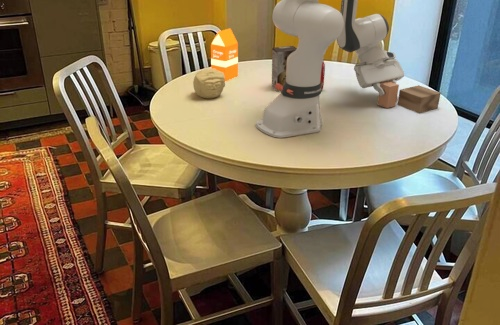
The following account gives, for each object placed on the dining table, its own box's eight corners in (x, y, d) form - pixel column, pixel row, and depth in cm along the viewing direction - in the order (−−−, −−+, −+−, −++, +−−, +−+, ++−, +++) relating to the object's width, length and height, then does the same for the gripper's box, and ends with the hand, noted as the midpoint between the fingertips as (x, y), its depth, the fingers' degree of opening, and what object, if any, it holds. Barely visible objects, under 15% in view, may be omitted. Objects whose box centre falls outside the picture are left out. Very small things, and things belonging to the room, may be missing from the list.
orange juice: (211, 78, 204) (209, 30, 195) (224, 73, 211) (223, 27, 202) (225, 81, 200) (225, 33, 191) (238, 76, 207) (238, 29, 198)
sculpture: (200, 102, 178) (198, 74, 173) (190, 93, 187) (188, 65, 182) (228, 98, 182) (228, 70, 177) (217, 89, 192) (216, 62, 187)
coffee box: (291, 84, 197) (293, 45, 190) (297, 89, 192) (300, 49, 184) (270, 86, 195) (271, 47, 187) (276, 91, 189) (277, 51, 182)
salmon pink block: (386, 108, 173) (390, 86, 170) (377, 104, 177) (380, 83, 173) (395, 105, 175) (398, 84, 172) (386, 102, 179) (389, 81, 175)
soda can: (322, 93, 188) (325, 63, 182) (304, 92, 189) (306, 62, 184) (323, 87, 194) (326, 58, 189) (306, 86, 195) (308, 57, 190)
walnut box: (418, 113, 170) (421, 97, 167) (397, 105, 177) (399, 89, 175) (437, 108, 174) (440, 92, 172) (415, 100, 182) (418, 85, 179)
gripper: (357, 59, 168) (374, 94, 166) (397, 52, 179) (414, 84, 176) (347, 69, 174) (363, 102, 171) (386, 61, 184) (402, 93, 181)
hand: (389, 93), depth 173 cm, fingers closed on salmon pink block, 5 cm apart
